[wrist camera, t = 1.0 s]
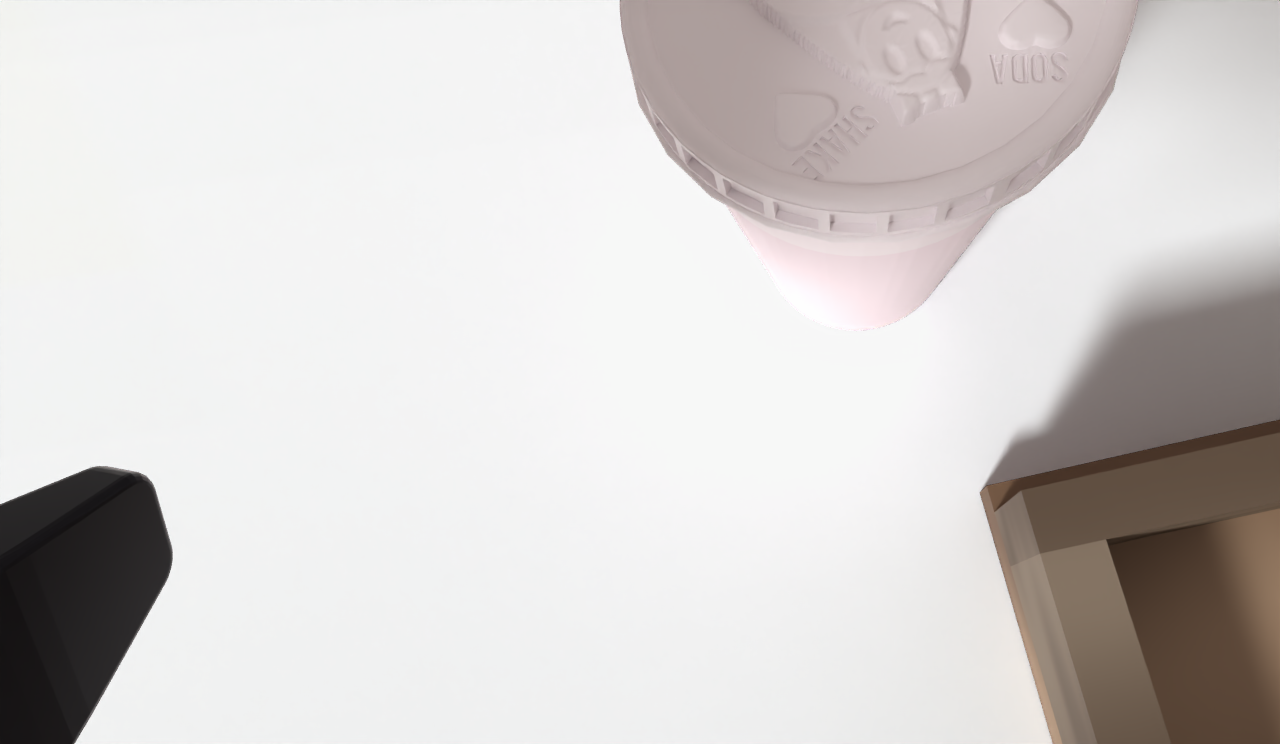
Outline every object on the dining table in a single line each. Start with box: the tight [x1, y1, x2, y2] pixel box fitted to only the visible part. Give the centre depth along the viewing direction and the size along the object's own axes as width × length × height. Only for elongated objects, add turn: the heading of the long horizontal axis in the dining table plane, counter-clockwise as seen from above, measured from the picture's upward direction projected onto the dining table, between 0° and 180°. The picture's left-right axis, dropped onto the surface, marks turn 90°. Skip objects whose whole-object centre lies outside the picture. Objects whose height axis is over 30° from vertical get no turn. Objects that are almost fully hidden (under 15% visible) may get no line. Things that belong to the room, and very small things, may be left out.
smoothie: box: [620, 0, 1138, 330], centre depth 16 cm, size 6×6×14 cm
